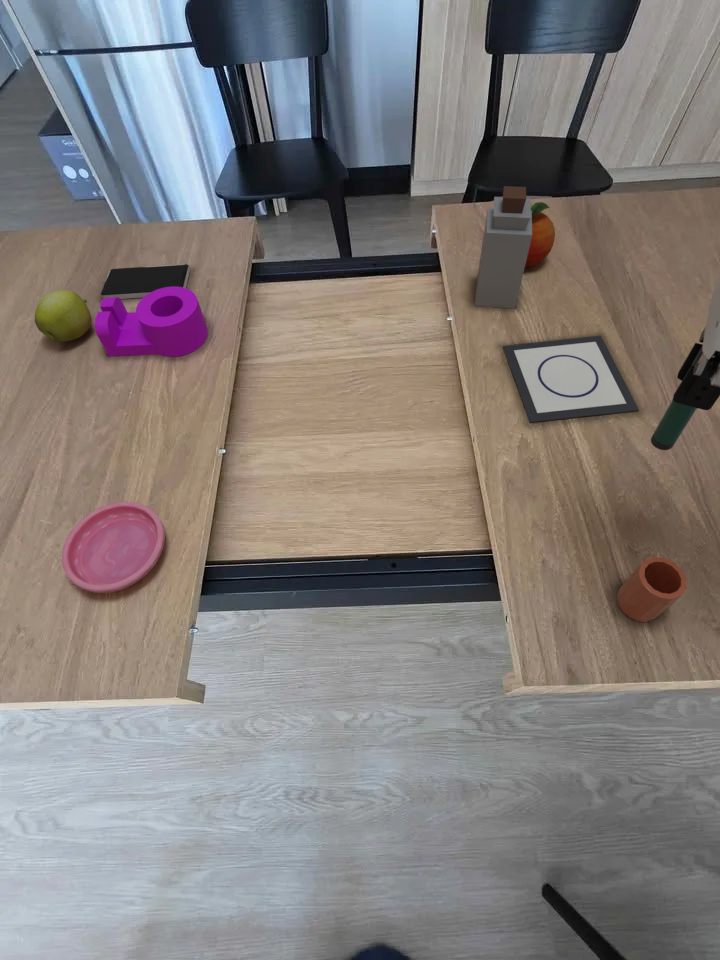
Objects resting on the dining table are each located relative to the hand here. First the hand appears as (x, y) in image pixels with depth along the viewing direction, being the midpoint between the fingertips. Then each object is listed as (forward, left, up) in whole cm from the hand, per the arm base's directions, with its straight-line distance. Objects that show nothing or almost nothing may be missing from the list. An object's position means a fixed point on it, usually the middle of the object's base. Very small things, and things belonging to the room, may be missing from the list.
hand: (693, 391), depth 51 cm
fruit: (-4, -55, -24) cm, 60 cm away
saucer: (+62, -3, -24) cm, 67 cm away
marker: (0, 0, -7) cm, 7 cm away
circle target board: (-3, -25, -24) cm, 35 cm away
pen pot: (0, +11, -24) cm, 26 cm away
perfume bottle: (+3, -46, -24) cm, 52 cm away
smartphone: (+65, -59, -24) cm, 91 cm away
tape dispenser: (+61, -44, -24) cm, 79 cm away
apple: (+76, -47, -24) cm, 93 cm away
